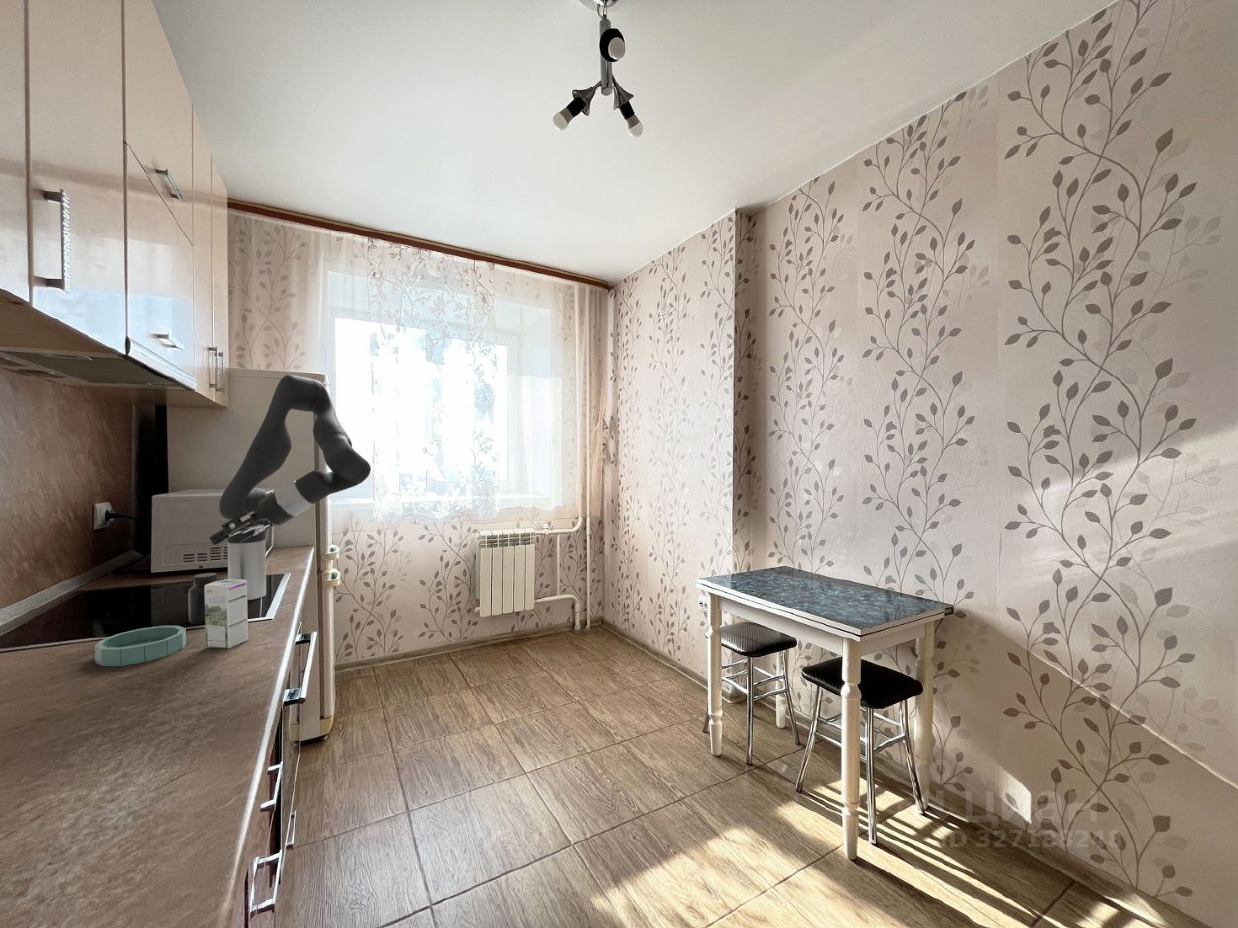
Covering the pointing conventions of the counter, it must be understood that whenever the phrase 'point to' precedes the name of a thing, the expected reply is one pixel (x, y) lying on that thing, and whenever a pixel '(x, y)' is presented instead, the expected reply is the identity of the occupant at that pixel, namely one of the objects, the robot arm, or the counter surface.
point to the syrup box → (226, 613)
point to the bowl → (140, 645)
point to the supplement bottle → (199, 597)
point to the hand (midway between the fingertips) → (224, 540)
